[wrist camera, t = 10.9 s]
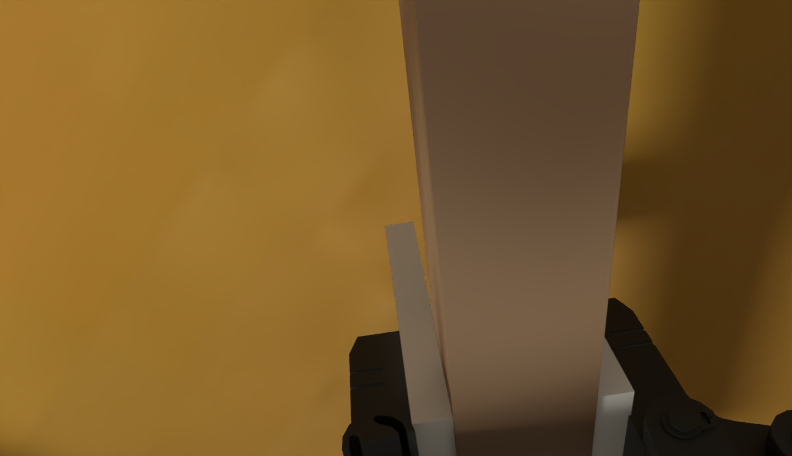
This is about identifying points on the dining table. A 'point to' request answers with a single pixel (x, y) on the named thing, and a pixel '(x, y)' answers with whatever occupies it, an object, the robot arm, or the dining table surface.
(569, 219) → the walnut stick
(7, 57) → the dining table surface
